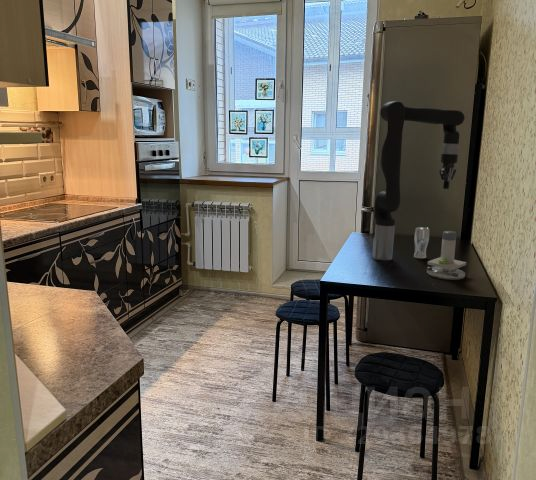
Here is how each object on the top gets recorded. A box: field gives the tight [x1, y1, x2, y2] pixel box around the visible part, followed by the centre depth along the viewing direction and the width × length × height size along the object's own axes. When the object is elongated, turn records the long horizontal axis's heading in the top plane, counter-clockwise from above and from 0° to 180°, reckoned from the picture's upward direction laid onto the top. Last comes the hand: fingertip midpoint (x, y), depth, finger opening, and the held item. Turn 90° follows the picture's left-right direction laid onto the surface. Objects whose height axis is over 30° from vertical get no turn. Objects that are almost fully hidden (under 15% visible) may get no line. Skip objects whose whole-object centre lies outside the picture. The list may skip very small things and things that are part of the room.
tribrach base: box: [426, 266, 466, 281], centre depth 211 cm, size 16×16×4 cm
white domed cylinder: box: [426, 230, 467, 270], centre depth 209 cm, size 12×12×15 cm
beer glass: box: [413, 226, 430, 260], centre depth 239 cm, size 7×7×15 cm
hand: (446, 188), depth 234 cm, fingers closed
